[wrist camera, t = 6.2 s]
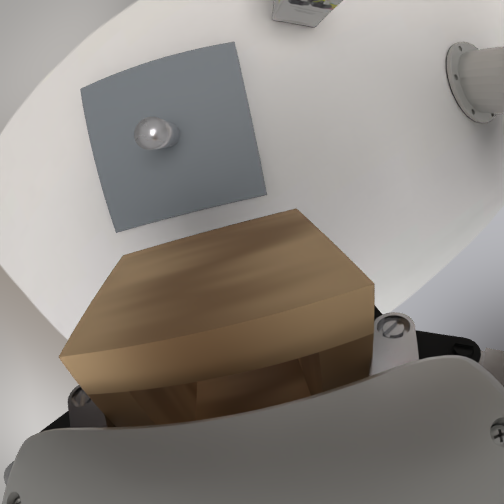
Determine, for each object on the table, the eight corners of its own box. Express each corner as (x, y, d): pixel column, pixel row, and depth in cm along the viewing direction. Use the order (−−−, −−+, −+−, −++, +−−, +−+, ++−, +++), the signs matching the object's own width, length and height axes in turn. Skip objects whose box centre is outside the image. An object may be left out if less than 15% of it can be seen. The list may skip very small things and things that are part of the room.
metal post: (177, 119, 24) (163, 112, 17) (182, 143, 25) (170, 144, 18) (153, 126, 24) (130, 122, 17) (158, 150, 25) (138, 154, 18)
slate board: (233, 46, 23) (234, 41, 22) (264, 192, 29) (266, 194, 28) (86, 90, 23) (80, 89, 21) (120, 228, 29) (116, 232, 27)
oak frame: (296, 208, 11) (374, 283, 5) (317, 345, 13) (362, 443, 8) (123, 255, 11) (58, 356, 5) (182, 377, 13) (177, 481, 8)
